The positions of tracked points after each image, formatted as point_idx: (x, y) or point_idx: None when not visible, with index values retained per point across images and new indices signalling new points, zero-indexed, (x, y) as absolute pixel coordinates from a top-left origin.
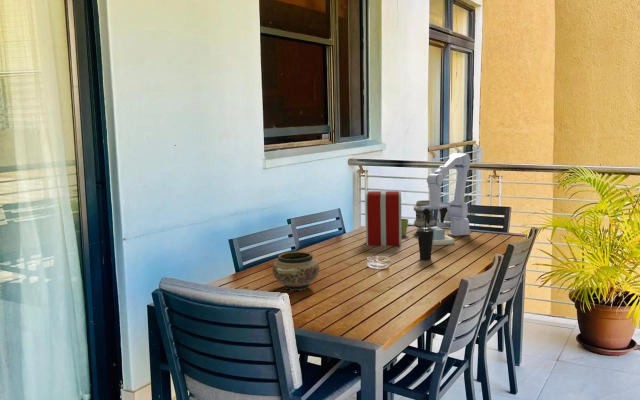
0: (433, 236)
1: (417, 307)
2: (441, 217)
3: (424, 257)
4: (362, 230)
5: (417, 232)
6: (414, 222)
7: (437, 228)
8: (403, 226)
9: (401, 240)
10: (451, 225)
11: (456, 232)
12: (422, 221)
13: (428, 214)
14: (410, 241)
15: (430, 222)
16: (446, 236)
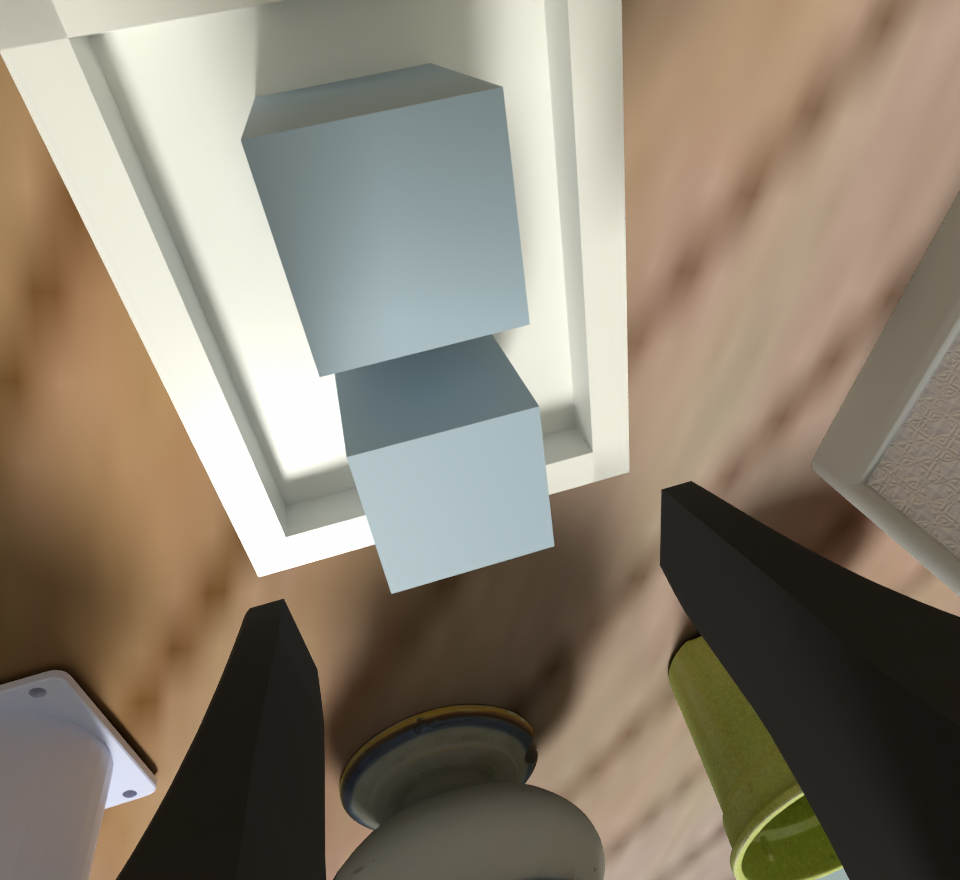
0: None
1: None
2: (299, 784)
3: None
4: None
5: (527, 751)
6: (604, 865)
7: (415, 435)
8: None
9: (858, 388)
10: (68, 871)
11: (2, 739)
12: (536, 872)
13: (945, 659)
14: (767, 347)
15: (419, 877)
16: (193, 351)
